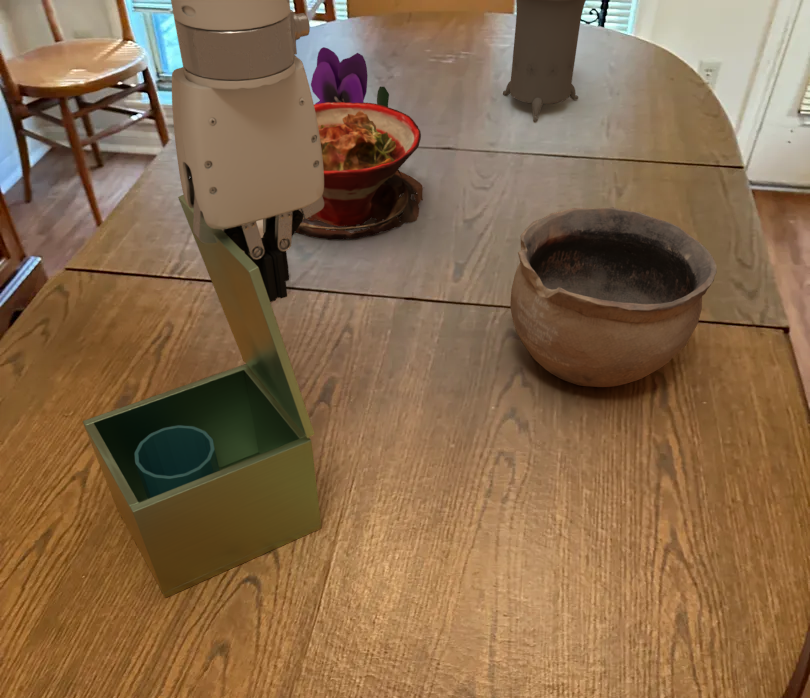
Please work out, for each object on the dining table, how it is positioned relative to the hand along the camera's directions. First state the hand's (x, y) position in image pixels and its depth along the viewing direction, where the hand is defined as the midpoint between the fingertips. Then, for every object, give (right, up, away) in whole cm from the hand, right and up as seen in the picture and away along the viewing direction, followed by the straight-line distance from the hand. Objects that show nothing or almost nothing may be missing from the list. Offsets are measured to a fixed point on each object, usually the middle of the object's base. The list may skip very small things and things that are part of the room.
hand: (270, 291), depth 66 cm
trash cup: (-10, -19, +13) cm, 25 cm away
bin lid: (-2, -2, +1) cm, 3 cm away
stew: (+1, +31, +57) cm, 65 cm away
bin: (-8, -19, +14) cm, 25 cm away
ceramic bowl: (+35, +1, +32) cm, 47 cm away
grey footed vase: (+37, +64, +87) cm, 114 cm away
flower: (+2, +53, +77) cm, 93 cm away
